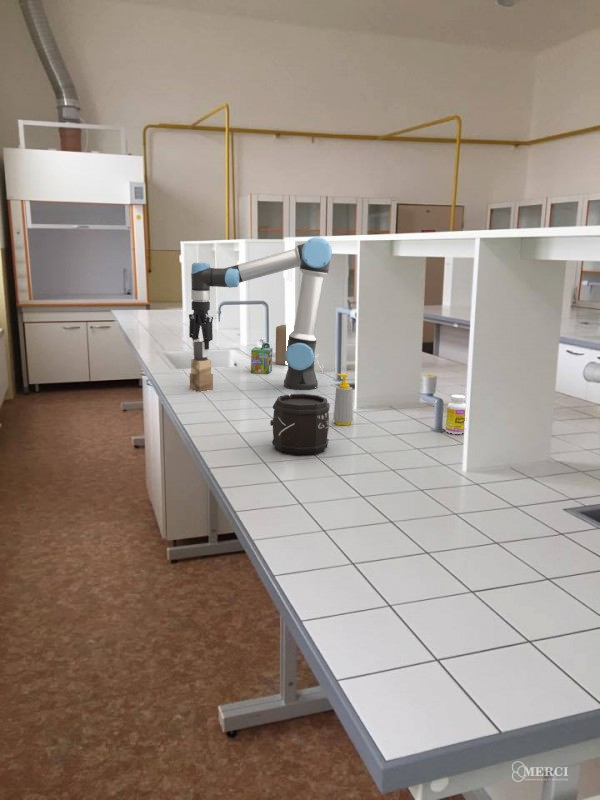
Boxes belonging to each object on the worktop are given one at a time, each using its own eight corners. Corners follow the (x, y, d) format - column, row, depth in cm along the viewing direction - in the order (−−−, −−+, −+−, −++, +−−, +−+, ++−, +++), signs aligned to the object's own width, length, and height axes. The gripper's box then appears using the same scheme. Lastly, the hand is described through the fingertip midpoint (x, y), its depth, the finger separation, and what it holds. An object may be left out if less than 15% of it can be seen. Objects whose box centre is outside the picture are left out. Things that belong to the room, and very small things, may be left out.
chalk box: (254, 370, 336) (254, 340, 333) (272, 371, 335) (272, 341, 332) (250, 373, 327) (250, 343, 324) (268, 374, 326) (269, 344, 323)
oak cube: (211, 373, 287) (211, 359, 286) (199, 375, 283) (199, 361, 282) (202, 371, 292) (202, 358, 290) (191, 373, 287) (190, 359, 286)
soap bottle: (332, 420, 244) (334, 371, 240) (352, 421, 244) (354, 372, 240) (333, 425, 237) (334, 375, 233) (352, 426, 237) (355, 376, 233)
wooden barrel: (274, 438, 220) (275, 391, 216) (329, 441, 218) (331, 394, 214) (266, 455, 202) (267, 404, 199) (326, 458, 201) (328, 407, 197)
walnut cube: (212, 390, 289) (212, 373, 287) (199, 392, 284) (199, 375, 283) (203, 387, 294) (202, 371, 292) (189, 389, 289) (189, 373, 287)
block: (274, 364, 352) (275, 326, 348) (280, 361, 361) (281, 324, 357) (293, 366, 349) (293, 327, 345) (298, 363, 359) (299, 325, 354)
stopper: (210, 359, 286) (210, 342, 284) (199, 360, 282) (199, 343, 280) (202, 357, 290) (202, 341, 288) (191, 358, 286) (191, 342, 284)
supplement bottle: (453, 435, 228) (455, 398, 225) (441, 430, 234) (444, 394, 231) (469, 434, 231) (472, 397, 228) (457, 429, 237) (460, 393, 234)
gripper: (221, 302, 277) (221, 358, 282) (194, 298, 289) (194, 352, 295) (207, 302, 271) (207, 359, 277) (180, 299, 284) (180, 353, 289)
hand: (200, 355), depth 286 cm, fingers closed on stopper, 5 cm apart
